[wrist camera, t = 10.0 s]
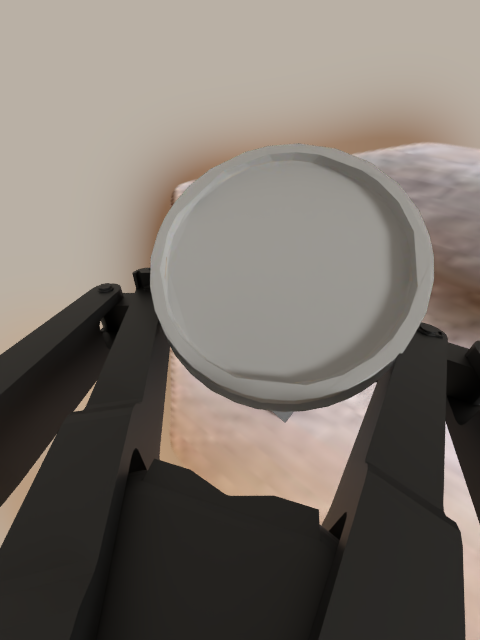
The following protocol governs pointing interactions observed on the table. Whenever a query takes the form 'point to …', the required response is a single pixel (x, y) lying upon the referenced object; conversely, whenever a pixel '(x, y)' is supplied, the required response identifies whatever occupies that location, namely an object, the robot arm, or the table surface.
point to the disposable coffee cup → (291, 276)
